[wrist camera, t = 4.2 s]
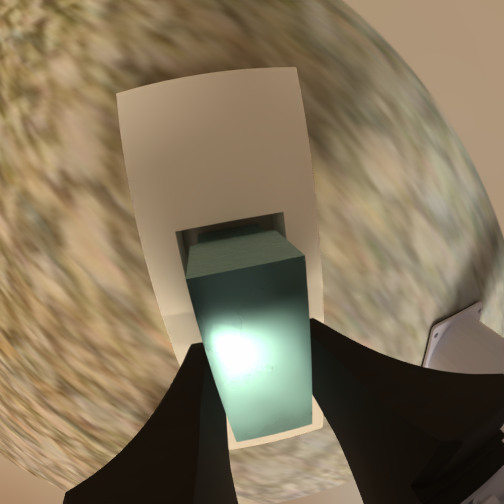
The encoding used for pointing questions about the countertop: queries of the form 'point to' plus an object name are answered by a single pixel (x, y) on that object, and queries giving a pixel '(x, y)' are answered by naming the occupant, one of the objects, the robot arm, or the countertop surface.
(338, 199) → the countertop surface
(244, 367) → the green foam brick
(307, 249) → the rail
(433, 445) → the robot arm
